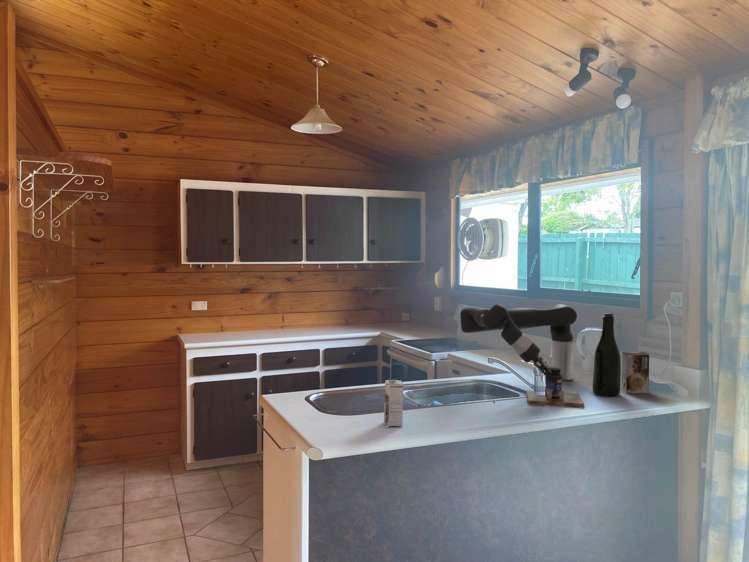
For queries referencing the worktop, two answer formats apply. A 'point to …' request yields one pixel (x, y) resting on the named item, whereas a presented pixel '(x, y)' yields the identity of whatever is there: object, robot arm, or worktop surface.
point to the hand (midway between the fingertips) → (554, 378)
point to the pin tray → (555, 399)
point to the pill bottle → (554, 386)
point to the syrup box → (393, 403)
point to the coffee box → (635, 372)
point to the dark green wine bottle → (607, 361)
